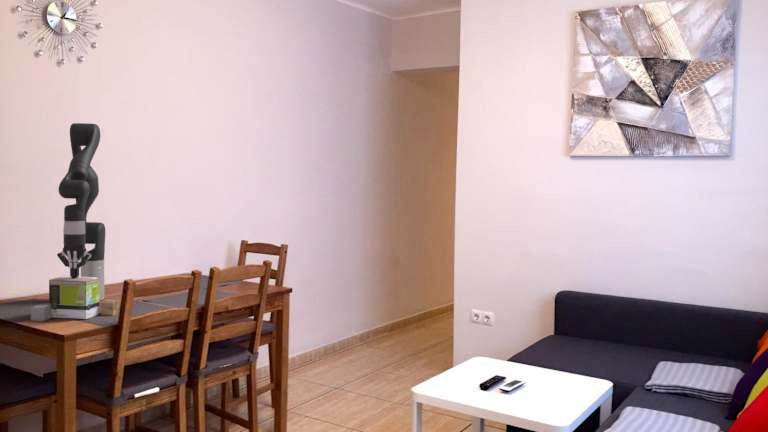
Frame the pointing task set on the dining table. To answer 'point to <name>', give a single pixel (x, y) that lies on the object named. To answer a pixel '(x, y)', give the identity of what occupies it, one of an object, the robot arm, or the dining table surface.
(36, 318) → the slate block
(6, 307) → the dining table surface
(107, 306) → the brown box
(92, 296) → the tea box
